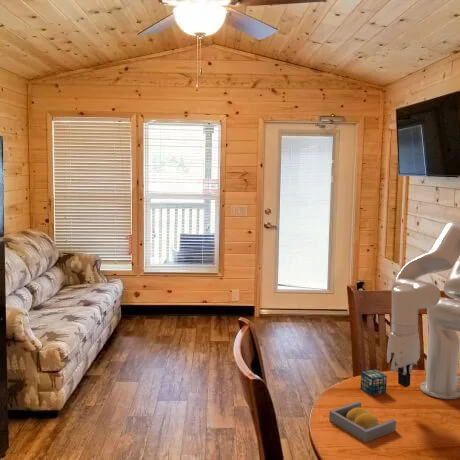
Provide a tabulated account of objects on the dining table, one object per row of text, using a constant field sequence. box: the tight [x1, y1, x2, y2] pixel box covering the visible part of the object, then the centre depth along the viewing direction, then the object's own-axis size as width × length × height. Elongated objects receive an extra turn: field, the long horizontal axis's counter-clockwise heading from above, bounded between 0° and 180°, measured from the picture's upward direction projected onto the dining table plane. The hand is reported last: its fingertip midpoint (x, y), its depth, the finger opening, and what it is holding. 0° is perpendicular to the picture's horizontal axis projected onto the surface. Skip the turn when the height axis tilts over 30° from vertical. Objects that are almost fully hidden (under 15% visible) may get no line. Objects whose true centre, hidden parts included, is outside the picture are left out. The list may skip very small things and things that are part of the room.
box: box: [328, 401, 397, 443], centre depth 146 cm, size 12×14×3 cm
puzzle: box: [360, 369, 388, 397], centre depth 169 cm, size 6×6×6 cm
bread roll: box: [345, 407, 379, 429], centre depth 147 cm, size 8×9×4 cm
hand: (404, 384), depth 155 cm, fingers closed
